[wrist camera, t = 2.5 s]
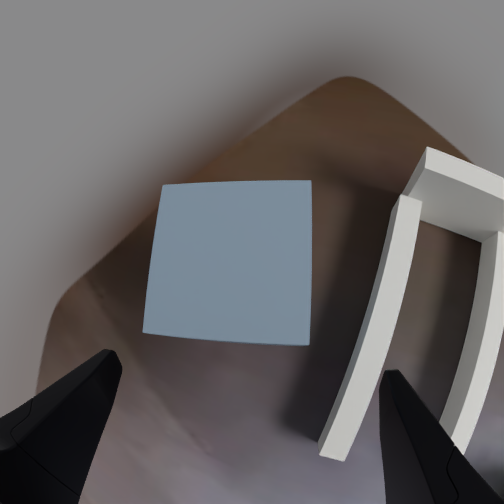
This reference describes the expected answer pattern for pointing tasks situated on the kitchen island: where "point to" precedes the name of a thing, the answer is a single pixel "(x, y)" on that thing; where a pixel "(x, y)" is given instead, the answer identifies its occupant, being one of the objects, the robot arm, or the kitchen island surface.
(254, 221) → the blue gray block
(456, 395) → the track
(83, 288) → the kitchen island surface
